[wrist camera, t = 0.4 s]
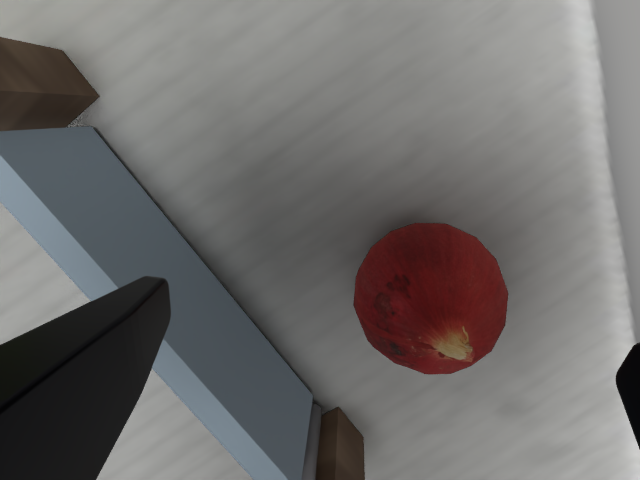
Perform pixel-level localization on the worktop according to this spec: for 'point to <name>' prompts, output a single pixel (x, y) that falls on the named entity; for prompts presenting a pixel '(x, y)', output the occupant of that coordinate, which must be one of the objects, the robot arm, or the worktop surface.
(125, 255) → the door
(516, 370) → the worktop surface
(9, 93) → the door frame
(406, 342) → the onion
